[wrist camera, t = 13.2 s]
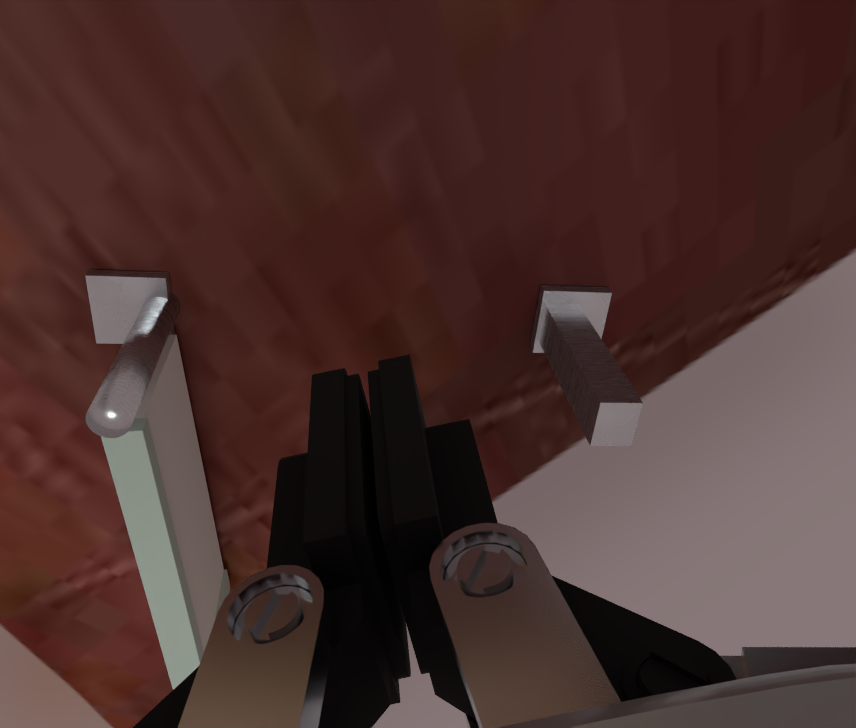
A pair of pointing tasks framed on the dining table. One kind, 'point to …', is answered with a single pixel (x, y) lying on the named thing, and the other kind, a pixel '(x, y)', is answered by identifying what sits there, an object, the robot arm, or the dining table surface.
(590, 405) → the gate posts
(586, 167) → the dining table surface
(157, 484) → the bar
